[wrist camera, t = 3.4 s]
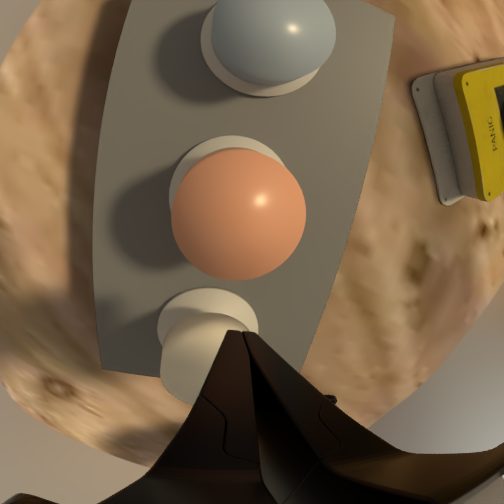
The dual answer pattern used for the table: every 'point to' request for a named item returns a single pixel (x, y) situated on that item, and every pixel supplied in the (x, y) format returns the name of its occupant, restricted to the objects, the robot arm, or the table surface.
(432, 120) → the emergency button
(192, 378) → the cream button
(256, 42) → the slate button
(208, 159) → the terracotta button
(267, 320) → the console
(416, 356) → the table surface
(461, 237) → the table surface
